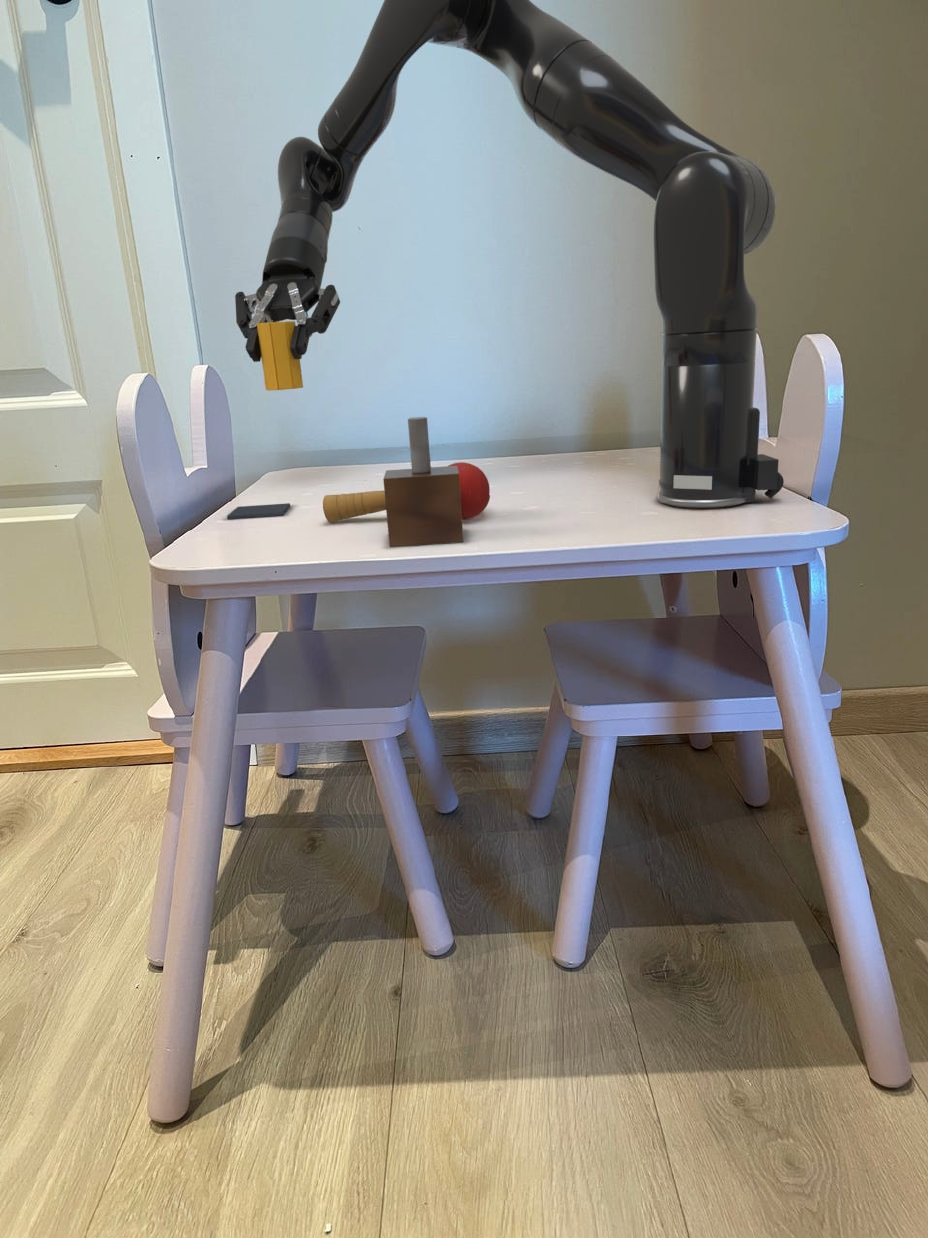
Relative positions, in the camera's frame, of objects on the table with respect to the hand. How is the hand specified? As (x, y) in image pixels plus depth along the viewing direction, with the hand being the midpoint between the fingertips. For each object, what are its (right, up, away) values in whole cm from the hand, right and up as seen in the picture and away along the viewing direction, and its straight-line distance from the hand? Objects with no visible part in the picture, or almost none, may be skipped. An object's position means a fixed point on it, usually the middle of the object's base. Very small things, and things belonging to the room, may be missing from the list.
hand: (274, 355), depth 103 cm
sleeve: (+1, -3, +3) cm, 4 cm away
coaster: (-1, -20, -4) cm, 21 cm away
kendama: (+18, -22, -14) cm, 32 cm away
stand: (+20, -25, -22) cm, 39 cm away
